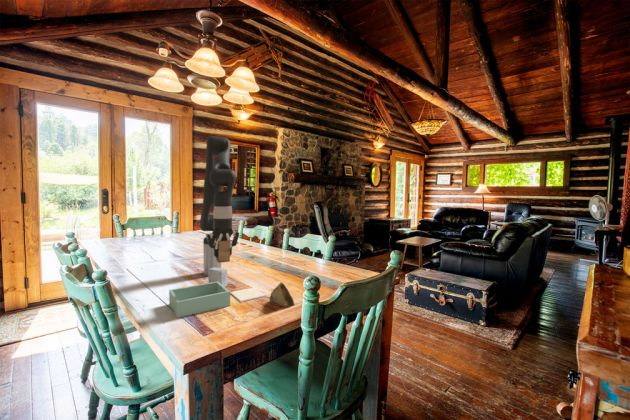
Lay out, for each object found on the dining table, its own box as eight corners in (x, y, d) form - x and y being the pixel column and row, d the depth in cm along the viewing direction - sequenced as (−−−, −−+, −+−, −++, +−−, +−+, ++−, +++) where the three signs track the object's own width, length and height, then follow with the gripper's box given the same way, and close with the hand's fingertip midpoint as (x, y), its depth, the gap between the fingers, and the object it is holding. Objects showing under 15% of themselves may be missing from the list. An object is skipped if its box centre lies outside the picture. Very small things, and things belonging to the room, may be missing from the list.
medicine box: (227, 286, 140) (227, 268, 139) (221, 289, 135) (221, 271, 135) (214, 284, 142) (214, 267, 141) (208, 286, 138) (208, 269, 137)
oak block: (216, 260, 122) (215, 239, 121) (226, 259, 124) (226, 238, 124) (219, 262, 118) (219, 241, 117) (229, 261, 121) (229, 240, 120)
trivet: (230, 293, 130) (230, 292, 130) (255, 288, 137) (255, 287, 137) (240, 302, 121) (240, 300, 121) (266, 296, 128) (266, 295, 128)
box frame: (169, 304, 117) (169, 289, 117) (218, 294, 129) (218, 281, 128) (176, 318, 105) (176, 302, 105) (230, 305, 117) (230, 291, 116)
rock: (262, 296, 122) (270, 301, 113) (273, 278, 125) (281, 282, 116) (281, 307, 126) (290, 313, 117) (292, 290, 129) (301, 295, 120)
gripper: (236, 215, 127) (236, 253, 128) (202, 216, 119) (203, 256, 120) (242, 217, 121) (242, 256, 122) (207, 218, 113) (207, 261, 114)
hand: (222, 256), depth 121 cm, fingers closed on oak block, 4 cm apart
